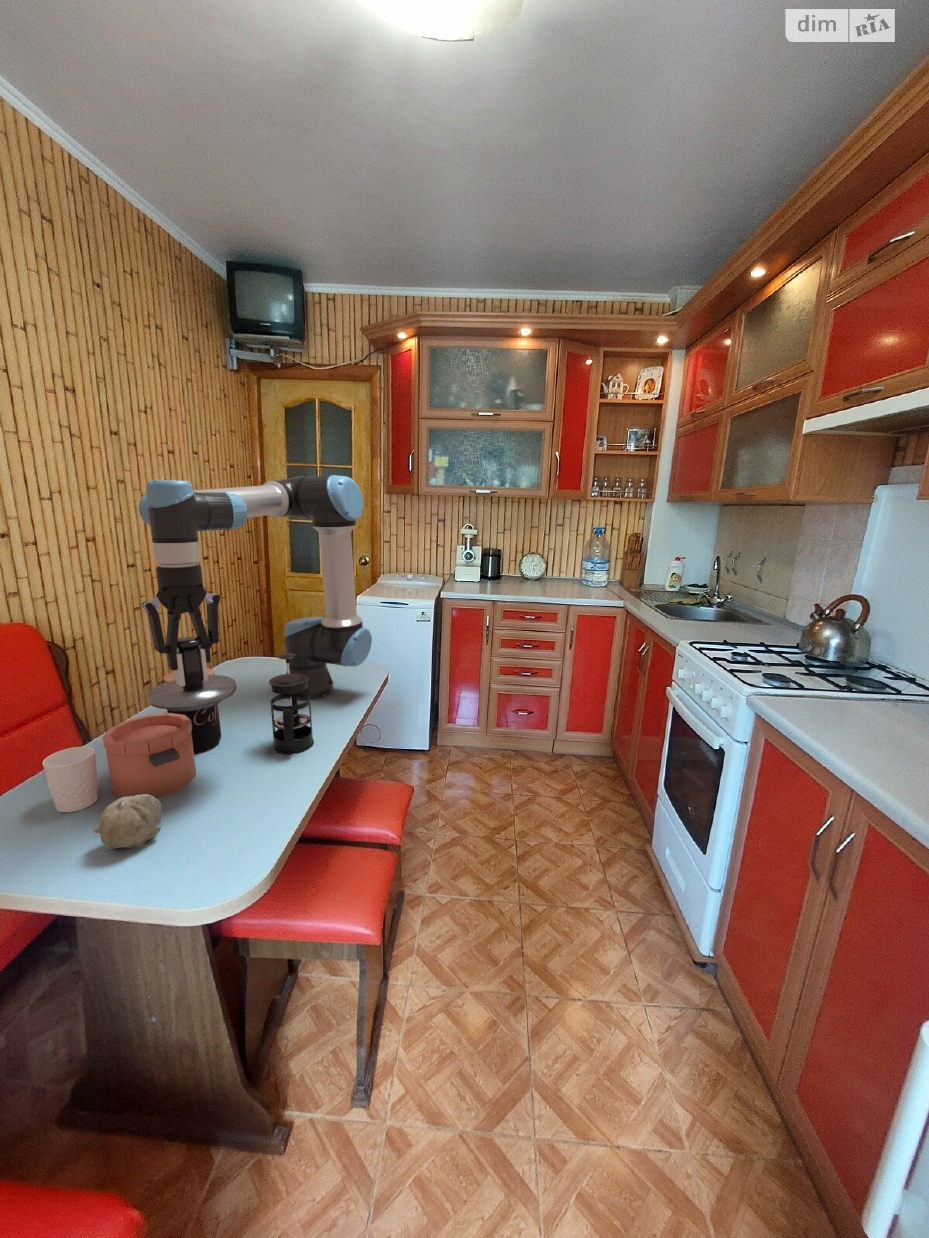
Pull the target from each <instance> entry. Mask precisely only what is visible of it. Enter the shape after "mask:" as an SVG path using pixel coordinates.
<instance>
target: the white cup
mask: <svg viewBox="0 0 929 1238" xmlns="http://www.w3.org/2000/svg"><path fill="white" fill-rule="evenodd" d="M42 767H43V770H44V774H45V778H46V783H47V785H48V789H49V793H50V795H51V796H50V797H51V798H52V800H53V804H54V808H55V810H56V812H58V813H62V812H63V814H64V812H67V813H74V812H78V811H81V810H84V809H86V808H88V807H90V806H92V805H93V804H95V803H96V802H97V801H98V800H99V797H100V794H99V787H98V785H99V780H98V769H97V759H96V751H95V749H94V747H91V746H76V747H75V746H74V747H70V748H65V749H61V750H59V751H56V752H54V753H52V754H50V755H48V756H47V757H46V758H44V759H43V761H42Z"/></svg>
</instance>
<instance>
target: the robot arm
mask: <svg viewBox="0 0 929 1238" xmlns="http://www.w3.org/2000/svg"><path fill="white" fill-rule="evenodd" d="M363 511H364V498H363V494H362V491H361V488H360V487H359V485H358V484H357V483H356V481H355V480H354V479H353V478H351V477H349V476H345V475H336V474H332V475H301V476H294V477H289V478H285V479H284V478H283V479H276V480H269V481H265V482H264V483H263V484H262V485H252V486H250V485H249V486H237V487H226V488H223V487H222V488H208V489H195V490H194V488H193V484H192V483H191V482H190V481H189V480H181V479H180V480H177V479H151V480H149V481H148V482H147V483H146V486H145V495H143V496H142V497H141V498H140V500H139V503H138V513H139V516H140V518H141V520H143V523H145V524H147V525H148V526H149V527H150V528H149V529H150V535H151V541H152V548H153V549H152V550H153V556H154V563H155V565H158V566H156V568H155V574H156V581H157V588H158V589H157V590H158V591H157V593H156V595H155V596H156V597H155V598H153V599H150V600H149V601H143V602H142V603H141V606H142V608H143V610H144V611H145V613H146V614H147V617H148V623H149V628H150V633H151V637H152V643H153V648H154V650H155V651H156V652H157V653H159V654H165V655H166V657H167V664H168V668H169V670H171V672H174V671H175V678H176V684H178V685H179V686H181V687H182V686H185V678H184V670H183V662H182V654H181V653H179V652H178V648H177V644H178V639H179V630H180V620H181V619H182V615H183V614H185V613H188V616H189V618H190V619H191V623H192V626H193V630H194V633H195V637H199V638H201V645H199V652H200V661H201V670H202V679H203V681H207V680H208V674H207V668H208V666H207V664H209V663H211V661H212V659H211V648H212V645H214V644H218V643H219V641H220V633H219V631H220V630H219V607H218V606H219V604H220V601H221V596H220V595H219V594H217V593H213V592H212V593H210V592H207V590H206V589H205V587H204V584H203V582H204V581H203V573H202V571H203V570H202V566H201V565H200V564H198V563H200V562H201V560H202V559H201V554H200V547H199V546H200V545H199V535H198V532H205V531H206V532H209V531H231V530H237V529H240V528H242V527H244V525H245V524H246V522H247V521H248V520H247V519H250V518H255V517H256V518H257V517H263V516H270V517H272V518H277V519H278V518H295V519H296V518H297V519H305V520H306V519H307V520H311V521H312V528H313V529H314V530H315V531H317V533H318V534H319V535H318V536H319V545H320V546H319V547H320V549H319V550H320V558H321V560H320V561H321V569H322V582H323V584H322V585H323V591H324V592H323V594H324V605H325V615H326V616H325V617H322V616H309V617H302V618H298V619H293V620H291V621H288V622H286V623H285V625H284V643H285V644H284V646H285V654H286V653H293V654H296V655H297V657H295V658H292V659H290V663H289V672H290V674H292V673H298V674H304V675H307V676H308V677H309V681H308V682H307V685H308V687H307V689H305V690H304V691H301V692H302V693H306V694H308V695H310V700H314V699H313V698H316V699H320V698H323V697H322V696H324V695H326V696H328V695H330V694H331V693H332V692H334V689H333V688H334V680H333V678H332V676H331V673H330V671H329V669H328V666H327V664H330V665H335V666H342V667H359V666H360V665H362V664H363V663H364V662H365V661H366V659H367V657H368V655H369V654H370V652H371V647H372V642H373V640H372V639H373V638H372V634H371V632H370V630H369V629H368V628H367V627H363V619H362V617H361V616H360V615H358V613H357V601H356V588H355V587H356V586H355V575H354V571H355V570H354V558H353V543H352V531H353V530H354V529H355V528H356V527H357V524H356V522H357V521H358V520H359V519H360V518H361V517H362V515H363ZM203 601H204V602H205V603H206V625H207V630H206V627H205V623H204V621H203V618H202V612H201V609H200V607H201V604H202V603H203ZM160 604H161V605H162V606H163V607H164V608H165V609H166V610H167V611H166V612H167V613H166V615H167V616H166V617H167V626H166V636H165V637H166V639H165V638H164V633H163V627H162V622H161V617H160V614H159V610H160ZM285 674H288V667H287V666H286V673H285ZM331 691H332V692H331ZM330 692H331V693H330ZM329 693H330V694H329ZM319 697H320V698H319ZM324 697H325V696H324ZM297 701H307V700H306V698H301V697H297Z"/></svg>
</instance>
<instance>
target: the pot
mask: <svg viewBox="0 0 929 1238" xmlns="http://www.w3.org/2000/svg"><path fill="white" fill-rule="evenodd" d="M191 731H192V724H191V720H190V719H189V718H188V717H187V716H185V715H182V714H174V713H168V712H165V713H155V714H154V713H153V714H145V715H142V716H139V717H135V718H134V717H133V718H132V719H131V718H130V719H127V720H125V721H123V722H121V723H118V724H117V725H114V726H112V727H110V728H109V729H108V730H107V731H106V732H105V733H104V735H103V736H102V737H101V738H102V744H103V747H104V749H105V754H106V759H107V766H108V767H107V768H108V772H109V778H110V783H111V791H112V794H113V796H114V797H115V798H116V800H118V799H119V798H122V797H129V796H135V795H142V794H149V795H151V796H153V797H155V798H156V799H157V800H158V799H159V798H163V797H167V796H169V795H171V794H175V793H176V792H178V791H180V790H181V789H184V788H185V787H186V786H188V785H189V784H190V783H191V782H192V781H193V780H194V779H195V778H196V775H197V771H196V770H197V768H196V762H195V761H196V759H195V753H194V751H193V743H192V734H191Z"/></svg>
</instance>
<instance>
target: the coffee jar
mask: <svg viewBox="0 0 929 1238" xmlns="http://www.w3.org/2000/svg"><path fill="white" fill-rule="evenodd" d="M207 674H208V675H216V673H215V670H214V669H213V668H209V667H207ZM162 679H163V683H166V682H169V681H172V680H176V678H175V670H173V671H171V672H169V673H166V674H165V675H164V676H163V677H162ZM219 711H220V710H219V703H218V704H216V705H214V706H211V707H208V708H205V709H201V710H196V711H188V712H175V711H170V710H167V709H166V713H174V714H182V715H185V716H187V717H188V718H189V719H190V720H191V724H192V731H191V734H192V743H193V751H194V754H199V753H203V752H206V751H209V750H211V749H213V748H215V747H217V745H218V744H219V742H220V740H221V738H222V730H221V728H222V727H221V720H220V719H221V718H220V712H219Z"/></svg>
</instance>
